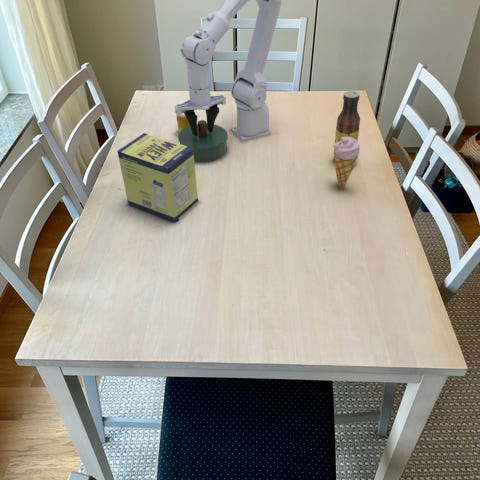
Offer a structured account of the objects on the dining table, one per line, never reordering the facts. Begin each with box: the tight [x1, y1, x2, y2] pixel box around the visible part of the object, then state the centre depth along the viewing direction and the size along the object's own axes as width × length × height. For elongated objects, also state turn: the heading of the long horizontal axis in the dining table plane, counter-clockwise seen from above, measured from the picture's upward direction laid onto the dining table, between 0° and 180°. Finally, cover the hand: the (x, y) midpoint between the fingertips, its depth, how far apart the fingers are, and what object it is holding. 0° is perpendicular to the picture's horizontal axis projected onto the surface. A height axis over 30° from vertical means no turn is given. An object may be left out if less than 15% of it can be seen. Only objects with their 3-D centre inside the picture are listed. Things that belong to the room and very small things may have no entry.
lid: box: [177, 119, 229, 149], centre depth 142 cm, size 14×14×5 cm
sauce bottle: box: [333, 90, 361, 163], centre depth 135 cm, size 7×6×20 cm
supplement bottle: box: [175, 99, 190, 134], centre depth 152 cm, size 5×5×10 cm
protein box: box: [116, 132, 199, 223], centre depth 124 cm, size 10×16×16 cm
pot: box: [179, 140, 228, 163], centre depth 145 cm, size 13×14×5 cm
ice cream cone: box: [331, 137, 361, 189], centre depth 128 cm, size 7×6×15 cm
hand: (202, 132), depth 143 cm, fingers open, 4 cm apart
